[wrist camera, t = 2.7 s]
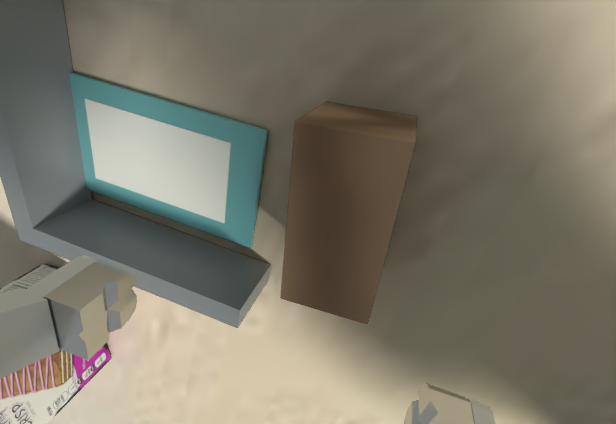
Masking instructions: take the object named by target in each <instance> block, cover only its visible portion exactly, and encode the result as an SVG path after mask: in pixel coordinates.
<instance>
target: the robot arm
mask: <svg viewBox="0 0 616 424" xmlns="http://www.w3.org/2000/svg"><path fill="white" fill-rule="evenodd" d="M135 284H136V280H135V275H134V274H132V273H129V272H127V271H124V270H122V269H120V268H117V267H115V266H112V265H110V264H107V263H105V262H102V261H100V260H97V259H95V258H92V257H89V256H87V255H82V256H78V257H76V258H75V259H73V260H71V261H70V262H68V263H67V264H65V265H64V266H62V267H60V268H59V269H57V270H56V271H54V272H53V273H51V274H49V275H48V276H46V277H45V278H43V279H42V280H40V281H38V282H37V283H35V284H34V285H32V286H31V287H29V288H27V289H26V290H23V289H20V288H19V289H15V290H11V291H7V292H3V293H0V378H3V377H5V376H7V375H9V374H11V373H13V372H16V371H18V370H20V369H22V368H24V367H26V366H29V365H31V364H33V363H35V362H37V361H39V360H42V359H44V358H46V357H48V356H50V355H52V354H55V353H57V352H59V351H60V350H63V351H66V352H68V353H71V354H73V355H76V356H79V357H81V358H84V359H87V360H89V359H90V358H91V357H92V356H93V355H94V354H95V353H96V352H97V351H98V350H99V349H100V348H101V347H103V346H104V345H105V344H106V343H107V342H108V341H109V335H110V332H112V331H114V330H117V329H120V328H122V327H123V326H124V325H125V324H126V323H127V322H128V321H129V319H130V318H131V316H132V314H133V312H134V311H135V308H136V304H137V296H136V294H135V293H134V291H133V290H132V287H133V286H134V285H135ZM59 349H60V350H59ZM404 424H495V420H494V416H493V412H492V410H491V409H490V407H489V406H486V405H484V404H481V403H478V402H475V401H473V400H470V399H466V398H465V397H463V396H460V395H458V394H455V393H452V392H449V391H446V390H444V389H441V388H438V387H435V386H433V385H430V384H427V383H426V384H424V385H422V387H421V388H420V390H419V400H416V401H413V402H412V403H411V404H410V406H409V408H408V410H407V413H406V417H405V420H404Z"/></svg>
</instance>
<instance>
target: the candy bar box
mask: <svg viewBox="0 0 616 424" xmlns="http://www.w3.org/2000/svg"><path fill="white" fill-rule="evenodd" d="M57 269H59V268H57V267H53V266H49V265H45V264H42V265H40V266H38V267H36V268H35V269H33V270H31V271H29V272H28V273H26V274H24V275H23V276H21V277H19V278H18V279H16V280H14V281H13V282H11V283H9V284H7V285H6V286H4V287H2V288H1V289H0V293H3V292H7V291H11V290H15V289H19V288H20V289H23V290H26V289H27V288H29V287H31V286H32V285H34V284H35V283H37V282H38V281H40V280H42V279H43V278H45V277H46V276H48V275H49V274H51V273H53V272H54V271H56V270H57ZM59 350H60V349H59ZM110 359H111V355H110V352H109V349H108V347H107V344H105V345H104V346H103V347H101V348H100V349H99V350H98V351H97V352H96V353H95V354H94V355H93V356H92V357H91V358H90V359H89V360H87V359H84V358H81V357H79V356H76V355H73V354H71V353H68V352H66V351H63V350H60V351H59V352H57V353H55V354H52V355H50V356H48V357H46V358H44V359H42V360H39V361H37V362H35V363H33V364H31V365H29V366H26V367H24V368H22V369H20V370H18V371H16V372H13V373H11V374H9V375H7V376H5V377H3V378H0V424H48V423H49V422H50V421H51V420H52V419H53V418H54V417H55V416H56V414H57V413H58V412H59V411H60V410H61V409H62V408H63V407H64V406H65V405H66V404H67V403H68V402H69V401H70V400H71V399H72V398H73V397H74V396H75V395H76V394H77V393H78V392H79V391H80V390H81V389H82V388H83V387H84V386H85V385H86V384H87V383H88V382H89V381H90V380H91V379H92V378H93V377H94V376H95V375H96V374H97V373H98V372H99V370H100V369H101V368H103V366H104V365H105V364H106V363H107V362H108V361H109V360H110Z"/></svg>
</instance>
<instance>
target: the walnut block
mask: <svg viewBox="0 0 616 424" xmlns="http://www.w3.org/2000/svg"><path fill="white" fill-rule="evenodd" d="M416 129H417V116H411V115H405V114H399V113H392V112H386V111H380V110H374V109H368V108H362V107H355V106H349V105H343V104H337V103H331V102H325V103H323V104H322V105H320V106H319V107H317V108H315V109H314V110H312V111H311V112H309V113H308V114H306V115H305V116H303V117H301V118H300V119H298V120H297V121H295V127H294V139H293V151H292V164H291V176H290V188H289V200H288V213H287V225H286V237H285V249H284V262H283V274H282V286H281V299H284V300H287V301H291V302H294V303H297V304H301V305H304V306H308V307H311V308H314V309H318V310H321V311H324V312H328V313H331V314H334V315H338V316H341V317H344V318H348V319H351V320H354V321H358V322H361V323H364V324H368V322H369V318H370V314H371V311H372V307H373V303H374V299H375V295H376V292H377V288H378V284H379V280H380V276H381V273H382V269H383V265H384V261H385V258H386V254H387V250H388V246H389V242H390V239H391V235H392V231H393V227H394V223H395V220H396V216H397V212H398V208H399V204H400V201H401V197H402V193H403V189H404V186H405V182H406V178H407V174H408V170H409V167H410V163H411V159H412V155H413V151H414V148H415V144H416Z"/></svg>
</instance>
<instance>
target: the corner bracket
mask: <svg viewBox="0 0 616 424" xmlns="http://www.w3.org/2000/svg"><path fill="white" fill-rule="evenodd" d="M267 136H268V130H266V129H263V128H259V127H256V126H253V125H249V124H246V123H242V122H239V121H236V120H232V119H229V118H225V117H222V116H219V115H215V114H212V113H208V112H205V111H202V110H198V109H195V108H192V107H188V106H185V105H181V104H178V103H175V102H171V101H168V100H164V99H161V98H158V97H154V96H151V95H147V94H144V93H141V92H137V91H134V90H130V89H127V88H124V87H120V86H117V85H114V84H110V83H107V82H103V81H100V80H97V79H93V78H90V77H86V76H83V75H80V74H76V73H73V67H72V61H71V54H70V47H69V41H68V34H67V27H66V21H65V14H64V7H63V1H62V0H0V177H1V180H2V183H3V187H4V190H5V193H6V197H7V200H8V203H9V207H10V210H11V213H12V217H13V220H14V223H15V227H16V230H17V234H18V237H19V240H21V241H24V242H26V243H29V244H31V245H34V246H36V247H38V248H41V249H43V250H46V251H48V252H51V253H53V254H56V255H58V256H61V257H63V258H66V259H68V260H73V259H75V258H76V257H78V256H82V255H87V256H89V257H92V258H95V259H97V260H100V261H102V262H105V263H107V264H110V265H112V266H115V267H117V268H120V269H122V270H124V271H127V272H129V273H132V274H134V275H135V280H136V284H135V285H134V286H135V287H137V288H140V289H142V290H145V291H147V292H150V293H152V294H154V295H157V296H159V297H162V298H164V299H167V300H169V301H172V302H174V303H177V304H179V305H182V306H184V307H187V308H189V309H191V310H194V311H196V312H199V313H201V314H204V315H206V316H209V317H211V318H214V319H216V320H219V321H221V322H224V323H226V324H229V325H231V326H233V327H236V328H238V327H239V325H240V324H241V322H242V321H243V319H244V318H245V316H246V314H247V313H248V311H249V310H250V308H251V307H252V305H253V303H254V302H255V300H256V299H257V297H258V296H259V294H260V293H261V291H262V289H263V288H264V286H265V285H266V283H267V282H268V278H269V272H270V267H271V264H268V263H265V262H262V261H260V260H257V259H254V258H251V257H249V256H246V255H243V254H240V253H238V252H235V251H232V250H229V249H227V248H224V247H221V246H219V245H216V244H213V243H210V242H208V241H205V240H202V239H199V238H197V237H194V236H191V235H188V234H186V233H183V232H180V231H177V230H175V229H172V228H169V227H166V226H164V225H161V224H158V223H155V222H153V221H150V220H147V219H144V218H142V217H139V216H136V215H134V214H131V213H128V212H125V211H123V210H120V209H117V208H114V207H112V206H109V205H106V204H103V203H101V202H98V201H95V200H92V193H91V191H93V192H96V193H99V194H102V195H104V196H107V197H110V198H113V199H116V200H118V201H121V202H124V203H127V204H129V205H132V206H135V207H138V208H141V209H143V210H146V211H149V212H152V213H154V214H157V215H160V216H163V217H166V218H168V219H171V220H174V221H177V222H179V223H182V224H185V225H188V226H191V227H193V228H196V229H199V230H202V231H204V232H207V233H210V234H213V235H216V236H218V237H221V238H224V239H227V240H229V241H232V242H235V243H238V244H241V245H243V246H246V247H249V248H251V247H252V244H253V237H254V230H255V223H256V215H257V208H258V201H259V194H260V187H261V179H262V172H263V165H264V158H265V150H266V143H267Z"/></svg>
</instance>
